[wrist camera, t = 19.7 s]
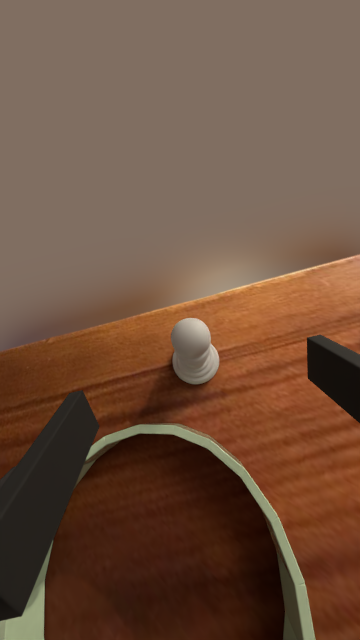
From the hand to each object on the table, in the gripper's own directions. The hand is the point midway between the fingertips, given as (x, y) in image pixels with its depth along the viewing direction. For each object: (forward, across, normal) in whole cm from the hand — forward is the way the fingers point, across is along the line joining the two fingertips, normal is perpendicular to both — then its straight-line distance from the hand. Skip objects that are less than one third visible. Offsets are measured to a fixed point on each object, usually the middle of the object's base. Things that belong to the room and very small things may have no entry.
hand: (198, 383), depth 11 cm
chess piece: (+11, 0, -5) cm, 12 cm away
